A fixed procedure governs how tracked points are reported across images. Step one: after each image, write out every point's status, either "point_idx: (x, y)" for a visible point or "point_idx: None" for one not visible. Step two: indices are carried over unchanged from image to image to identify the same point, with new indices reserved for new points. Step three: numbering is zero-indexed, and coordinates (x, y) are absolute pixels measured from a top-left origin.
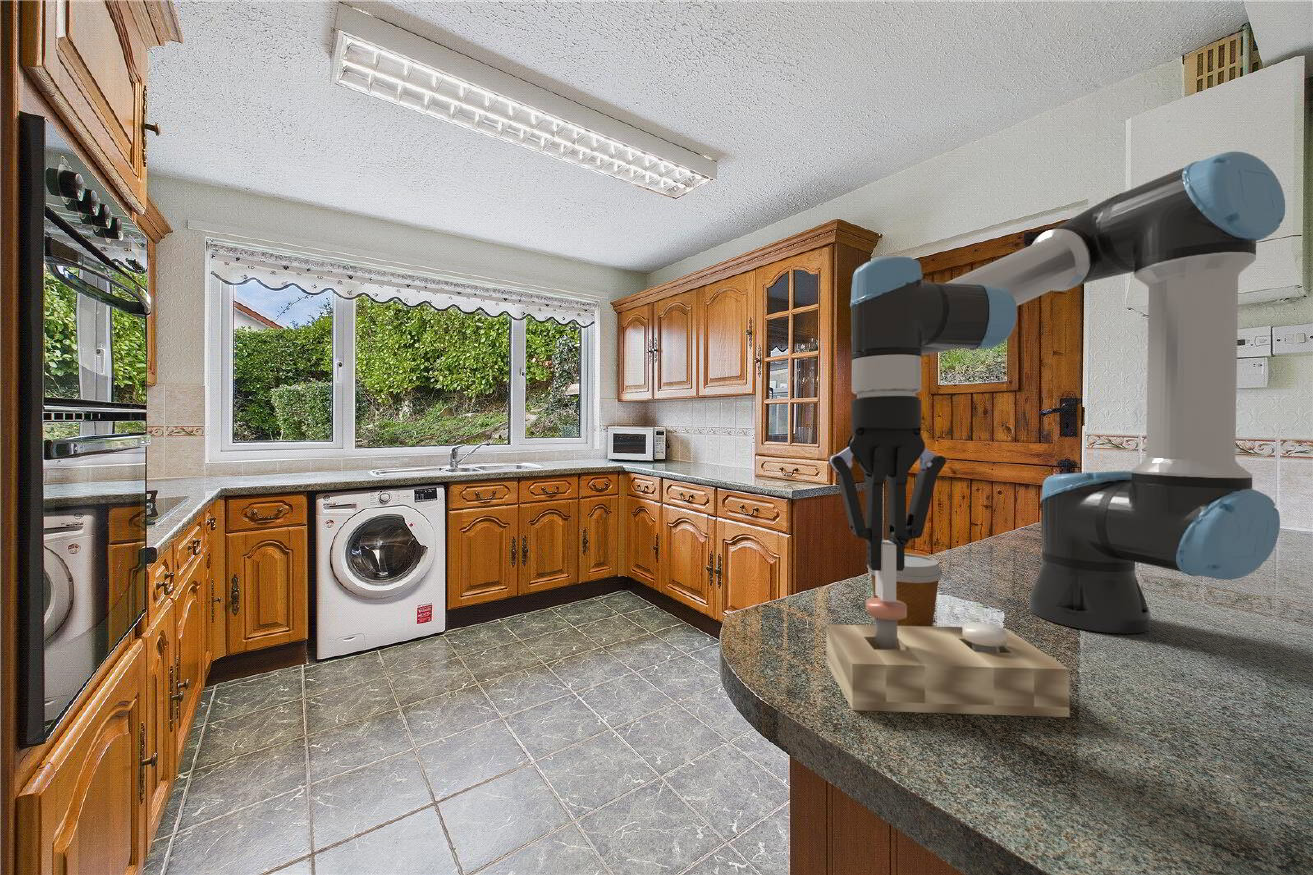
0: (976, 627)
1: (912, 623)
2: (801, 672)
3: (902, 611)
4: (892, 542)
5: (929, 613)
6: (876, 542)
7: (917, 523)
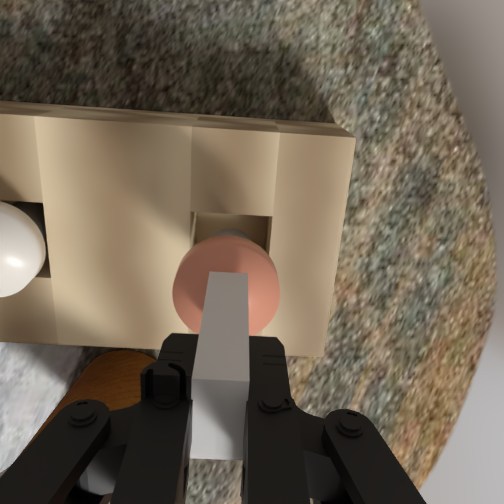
0: (2, 262)
1: (112, 385)
2: (374, 274)
3: (198, 249)
4: (192, 413)
5: (64, 404)
6: (276, 391)
7: (62, 455)
